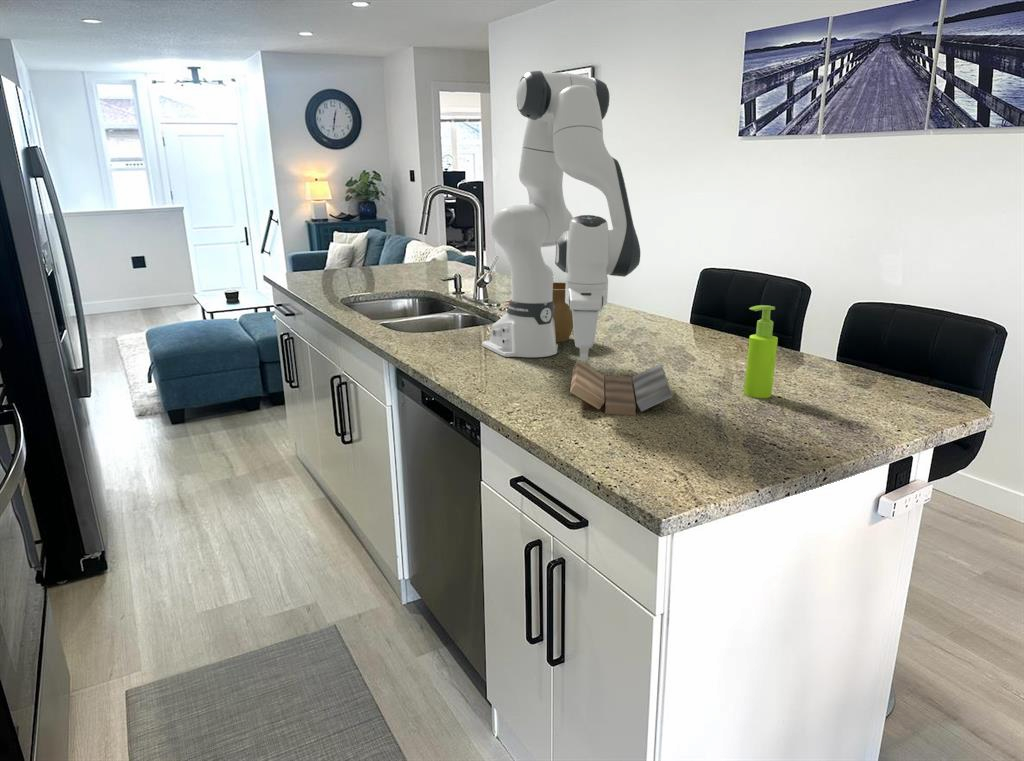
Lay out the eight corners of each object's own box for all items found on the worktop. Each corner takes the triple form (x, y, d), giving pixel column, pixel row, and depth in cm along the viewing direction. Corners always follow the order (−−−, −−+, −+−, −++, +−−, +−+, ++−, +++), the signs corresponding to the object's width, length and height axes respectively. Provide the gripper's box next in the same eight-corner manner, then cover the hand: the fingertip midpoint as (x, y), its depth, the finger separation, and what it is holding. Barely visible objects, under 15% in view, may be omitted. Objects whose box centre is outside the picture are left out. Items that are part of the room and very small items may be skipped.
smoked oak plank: (573, 367, 167) (577, 360, 166) (599, 382, 167) (603, 375, 167) (570, 391, 148) (575, 383, 147) (599, 409, 148) (604, 401, 147)
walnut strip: (604, 384, 168) (604, 375, 168) (630, 385, 168) (631, 376, 167) (605, 413, 147) (605, 404, 147) (635, 415, 146) (635, 405, 146)
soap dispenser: (734, 392, 163) (743, 304, 158) (759, 389, 165) (769, 302, 160) (751, 399, 158) (761, 309, 152) (777, 397, 160) (787, 307, 155)
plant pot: (580, 335, 220) (582, 282, 215) (580, 346, 205) (582, 289, 201) (531, 333, 221) (532, 280, 217) (527, 344, 207) (529, 288, 202)
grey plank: (636, 384, 166) (632, 377, 166) (664, 370, 165) (660, 363, 164) (641, 411, 147) (636, 403, 147) (673, 396, 146) (668, 388, 145)
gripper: (572, 287, 162) (570, 347, 166) (569, 302, 143) (567, 370, 146) (601, 288, 162) (598, 348, 165) (601, 303, 142) (598, 371, 146)
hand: (583, 359), depth 156 cm, fingers closed
